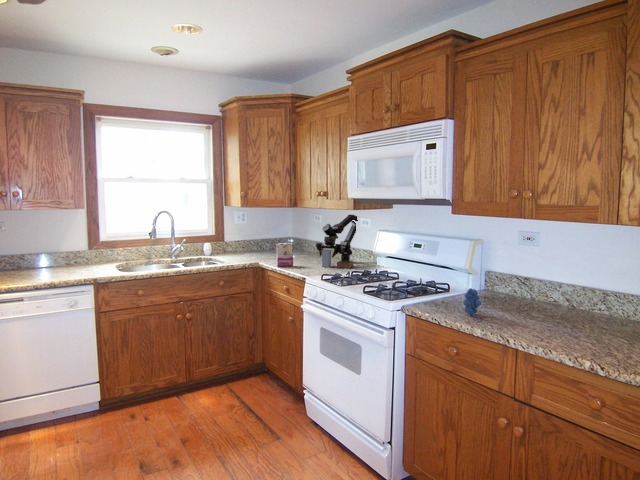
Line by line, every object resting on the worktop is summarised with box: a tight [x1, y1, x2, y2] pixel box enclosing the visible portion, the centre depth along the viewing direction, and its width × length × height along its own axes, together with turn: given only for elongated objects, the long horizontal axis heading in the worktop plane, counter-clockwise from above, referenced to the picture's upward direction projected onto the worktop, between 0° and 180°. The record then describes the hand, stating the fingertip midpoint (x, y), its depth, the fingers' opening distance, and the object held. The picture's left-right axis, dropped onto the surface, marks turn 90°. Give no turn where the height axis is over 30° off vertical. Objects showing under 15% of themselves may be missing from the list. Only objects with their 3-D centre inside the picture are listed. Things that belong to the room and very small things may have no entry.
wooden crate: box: [336, 260, 355, 270], centre depth 312 cm, size 9×9×4 cm
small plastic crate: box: [321, 249, 332, 269], centre depth 312 cm, size 5×5×12 cm
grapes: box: [462, 288, 482, 316], centre depth 189 cm, size 12×7×12 cm, turn 135°
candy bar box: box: [276, 242, 294, 268], centre depth 314 cm, size 11×5×16 cm, turn 105°
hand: (326, 256), depth 312 cm, fingers open, 9 cm apart
